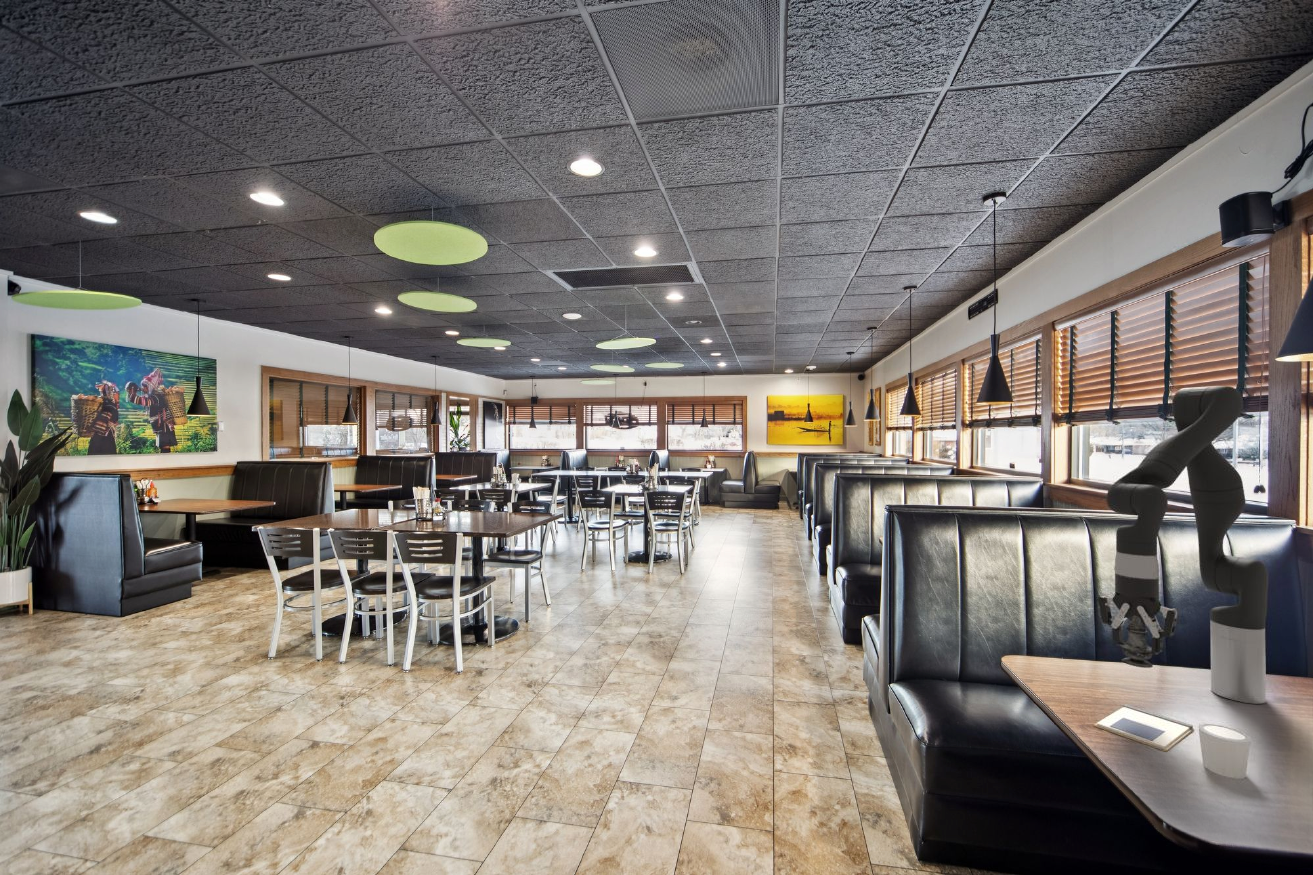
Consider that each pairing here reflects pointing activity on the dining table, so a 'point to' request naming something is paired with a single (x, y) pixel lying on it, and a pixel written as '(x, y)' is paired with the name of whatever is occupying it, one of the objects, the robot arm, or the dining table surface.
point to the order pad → (1146, 727)
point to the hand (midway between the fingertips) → (1136, 649)
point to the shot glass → (1224, 750)
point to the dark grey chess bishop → (1136, 644)
